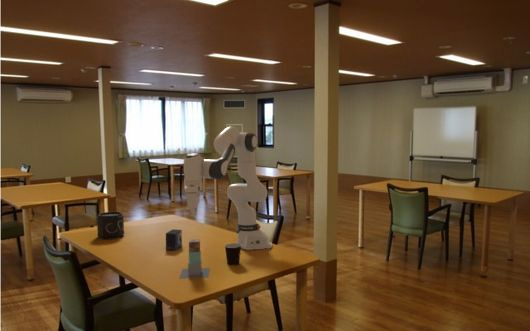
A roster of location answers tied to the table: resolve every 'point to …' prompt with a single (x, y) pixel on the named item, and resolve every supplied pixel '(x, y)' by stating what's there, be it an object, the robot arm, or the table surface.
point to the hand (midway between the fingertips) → (193, 214)
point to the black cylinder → (110, 225)
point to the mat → (203, 275)
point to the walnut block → (194, 245)
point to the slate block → (194, 268)
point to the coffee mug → (233, 253)
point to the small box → (173, 239)
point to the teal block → (195, 257)
